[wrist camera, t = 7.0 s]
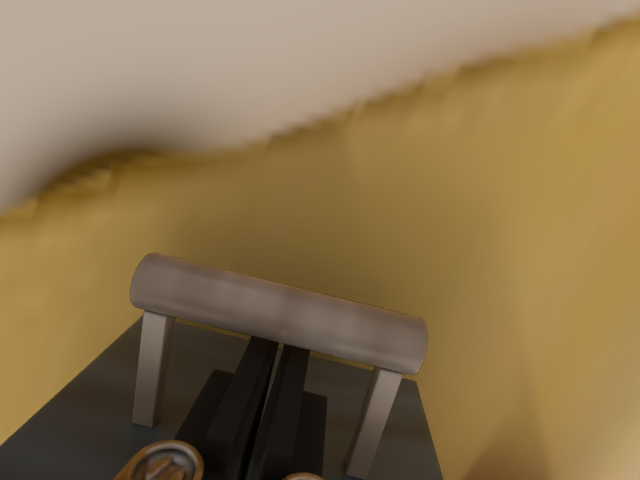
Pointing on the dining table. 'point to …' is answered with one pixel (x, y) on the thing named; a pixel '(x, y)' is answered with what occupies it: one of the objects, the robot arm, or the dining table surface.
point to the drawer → (225, 354)
